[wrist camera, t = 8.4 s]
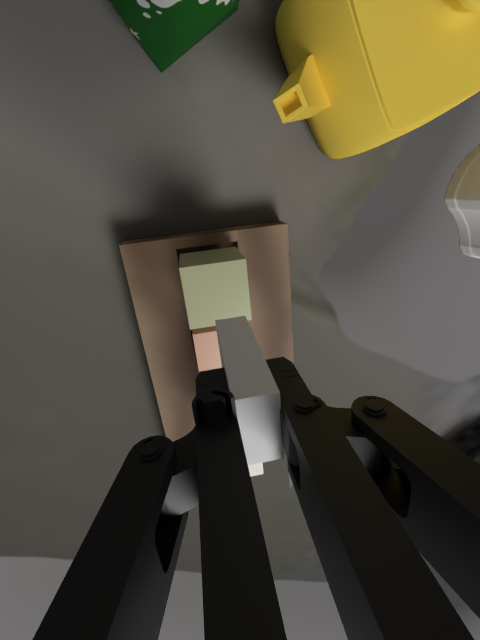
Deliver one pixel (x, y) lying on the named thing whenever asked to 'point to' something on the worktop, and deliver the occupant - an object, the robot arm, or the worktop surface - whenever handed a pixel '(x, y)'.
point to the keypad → (171, 315)
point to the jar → (466, 202)
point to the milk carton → (171, 24)
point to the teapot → (374, 67)
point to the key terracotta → (207, 348)
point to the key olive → (214, 286)
